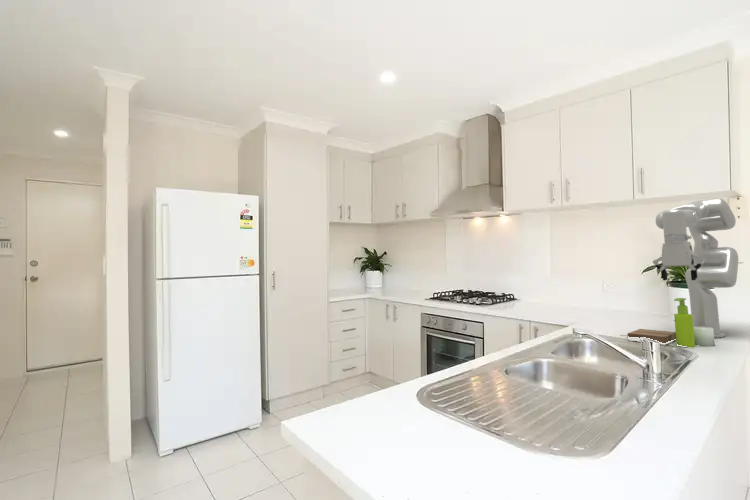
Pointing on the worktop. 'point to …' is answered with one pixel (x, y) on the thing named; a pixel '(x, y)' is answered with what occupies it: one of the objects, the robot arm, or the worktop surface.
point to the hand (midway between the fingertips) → (679, 280)
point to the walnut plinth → (654, 335)
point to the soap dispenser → (684, 325)
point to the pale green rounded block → (704, 336)
